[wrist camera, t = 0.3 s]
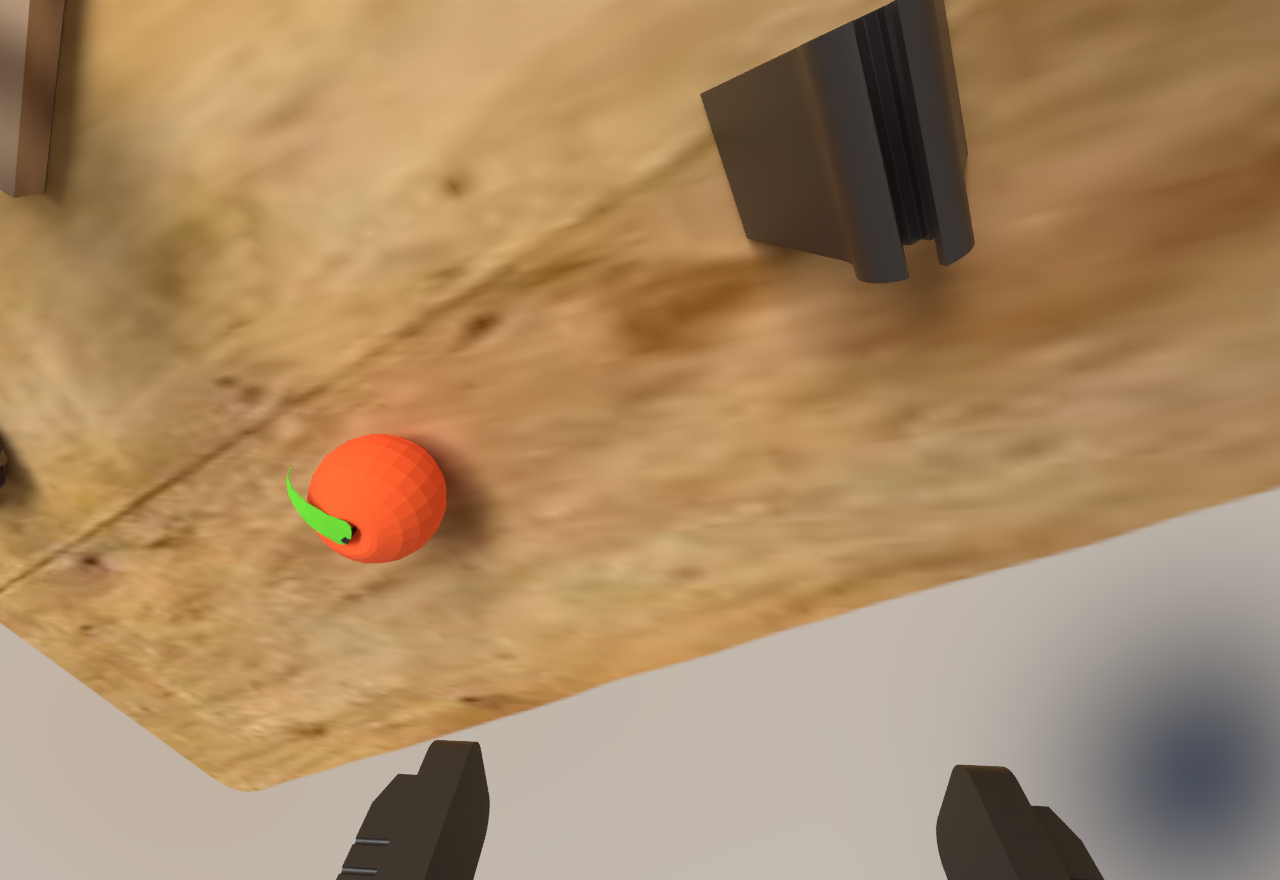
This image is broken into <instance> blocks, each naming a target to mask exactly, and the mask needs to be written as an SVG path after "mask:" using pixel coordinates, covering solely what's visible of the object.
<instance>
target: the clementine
mask: <svg viewBox="0 0 1280 880" xmlns="http://www.w3.org/2000/svg"><path fill="white" fill-rule="evenodd" d="M290 468H291V465H290ZM290 468H289V472H288V476H287V480H286V483H287V489H288V495H289V497H290V499H291V501H292V503H293V505H294V506H295V508H296V510H297V511H298V513H299V514H300V516H301V517H302V518H303V519H304V520H305V521H306V522H307V523H308V524H309V525H310V526H311V527H312V528H314V530H315V532H316V533H317V534H318V536H319V537H320V538H321V540H322V541H323V542H324V543H325V544H327V545H328V546H329V547H330V548H331V549H332V550H334V551H336V552H337V553H339V554H340V555H342V556H344V557H346V558H349V559H351V560H354V561H358V562H363V563H384V562H390V561H395V560H399V559H401V558H403V557H405V556H407V555H409V554H411V553H413V552H415V551H416V550H418V549H420V548H422V546H423V545H424V544H425V543H426V542H427V541H428V540H429V539H430V538H431V537H432V536H433V534H434V533H435V532H436V531H437V530H438V528H439V525H440V523H441V521H442V518H443V516H444V513H445V510H446V483H445V479H444V476H443V473H442V472H441V470H440V468H439V467H438V465H437V464H436V462H435V460H434V459H433V458H432V457H431V455H430V454H429V453H428V452H427V451H426V450H424V449H423V448H422V447H420V446H419V445H417V444H416V443H414V442H411V441H409V440H407V439H404V438H401V437H397V436H392V435H387V434H372V435H367V436H362V437H359V438H356V439H352V440H349V441H347V442H345V443H344V444H342V445H341V446H339V447H338V448H336V449H335V450H334V451H332V452H331V453H329V454H328V455H327V456H326V457H325V458H324V460H323V461H322V462H321V464H320V465H319V467H318V468H317V470H316V471H315V473H314V474H313V476H312V479H311V483H310V487H309V491H308V497H307V502H306V501H305V500H304V499H303V498H302V497H301V496H300V495H299V494H298V493H297V492H296V491H295V490H294V489H293V488H292V485H291V482H290V480H289V473H290Z"/></svg>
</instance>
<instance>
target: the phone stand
mask: <svg viewBox="0 0 1280 880" xmlns="http://www.w3.org/2000/svg"><path fill="white" fill-rule="evenodd" d="M700 95H701V98H702V101H703V104H704V107H705V110H706V113H707V116H708V119H709V122H710V126H711V129H712V132H713V135H714V138H715V141H716V144H717V147H718V150H719V153H720V156H721V159H722V162H723V165H724V168H725V171H726V175H727V178H728V181H729V184H730V187H731V190H732V193H733V196H734V199H735V202H736V205H737V208H738V211H739V214H740V217H741V220H742V224H743V227H744V230H745V233H746V236H747V238H748V239H753V240H757V241H761V242H766V243H770V244H774V245H779V246H783V247H787V248H792V249H796V250H800V251H804V252H809V253H813V254H817V255H822V256H826V257H830V258H835V259H839V260H843V261H847V262H849V263H851V264H852V265H853V266H854V269H855V273H856V276H857V278H858V279H859V280H860V281H863V282H867V283H888V282H895V281H901V280H906V279H908V278H909V272H908V267H907V263H906V258H905V253H904V249H903V245H912V244H913V243H915V242H917V241H919V240H921V239H925V240H932V239H934V238H935V242H936V247H937V253H938V258H939V263H940V265H945V266H947V265H949V264H951V263H953V262H955V261H957V260H959V259H960V258H962V257H963V256H965V255H966V254H967V253H968V252H970V251H971V249H972V248H973V247H974V244H975V241H974V235H973V229H972V223H971V217H970V211H969V205H968V199H967V192H966V186H965V180H964V174H963V171H964V166H965V162H966V158H967V154H968V151H967V145H966V139H965V132H964V126H963V120H962V114H961V107H960V101H959V95H958V88H957V82H956V76H955V69H954V63H953V57H952V50H951V44H950V38H949V31H948V25H947V19H946V12H945V6H944V0H895V1H893V2H891V3H890V4H888V5H886V6H883V7H881V8H879V9H877V10H875V11H873V12H871V13H869V14H867V15H865V16H862V17H860V18H858V19H856V20H853V21H851V22H849V23H847V24H845V25H843V26H840V27H838V28H836V29H834V30H832V31H830V32H828V33H826V34H824V35H822V36H819V37H817V38H815V39H813V40H811V41H809V42H807V43H805V44H803V45H801V46H799V47H797V48H795V49H793V50H791V51H789V52H787V53H785V54H783V55H780V56H778V57H776V58H774V59H772V60H770V61H768V62H766V63H764V64H762V65H760V66H758V67H756V68H753V69H751V70H749V71H747V72H745V73H743V74H741V75H739V76H737V77H735V78H733V79H731V80H729V81H727V82H724V83H722V84H720V85H718V86H716V87H714V88H712V89H710V90H708V91H706V92H704V93H702V94H700Z"/></svg>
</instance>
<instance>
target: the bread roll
mask: <svg viewBox="0 0 1280 880" xmlns="http://www.w3.org/2000/svg"><path fill="white" fill-rule="evenodd" d="M6 462H7V456H6V454H5V452H4V449H3V445H2V443H1V442H0V488H2V487H3V486H4V485H5V483H6V480H7V476H6V474H5V465H6Z"/></svg>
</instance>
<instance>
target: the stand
mask: <svg viewBox="0 0 1280 880" xmlns="http://www.w3.org/2000/svg"><path fill="white" fill-rule="evenodd" d="M64 4H65V0H0V189H1V190H2V191H4V192H6V193H7V194H9V195H11V196H12V197H20V196H26V195H32V194H38V193H44V191H45V182H46V172H47V163H48V154H49V144H50V135H51V126H52V116H53V107H54V98H55V88H56V79H57V70H58V60H59V51H60V42H61V32H62V23H63V14H64Z"/></svg>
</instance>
